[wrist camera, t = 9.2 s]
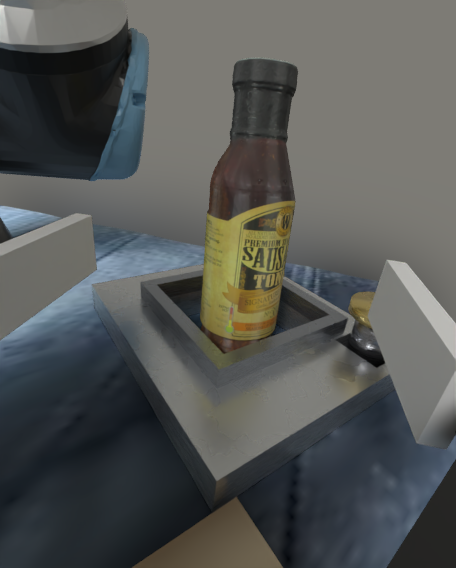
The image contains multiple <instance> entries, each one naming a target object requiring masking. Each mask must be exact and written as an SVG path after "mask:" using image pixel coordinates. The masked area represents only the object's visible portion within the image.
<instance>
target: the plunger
mask: <svg viewBox="0 0 456 568" xmlns="http://www.w3.org/2000/svg"><path fill="white" fill-rule="evenodd" d="M374 295H375V292H359V293H356V294H354V295H353V296H352V298H351V301H350V305H349V313H350V314H351V316H352V317H353V318H354V319H355V322H354V325H353V328H352V331H351V334H350V337H349V341H348V344H347V347H346V348H348V349H349V350H351V351H352V352H354V353H355V354H357V355H358V356H360V357H361V358H363V359H364V360H366V361H367V362H368V363H370V364H371V365H373V366H374V367H376V368H378V367H380V366H381V365H383V364H385V360H384V358H383V355H382V353H381V350H380V347H379V345H378V342H377V340H376V337H375V334H374V332H373V329H372V327H371V324H370V322H369V319H368V313H369V310H370V307H371V304H372V301H373V298H374Z"/></svg>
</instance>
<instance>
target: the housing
mask: <svg viewBox="0 0 456 568" xmlns="http://www.w3.org/2000/svg"><path fill="white" fill-rule="evenodd" d="M203 269H204V264H201V265H196V266H190V267H185V268H179V269H174V270H168V271H163V272H157V273H152V274H146V275H141V276H135V277H130V278H124V279H119V280H113V281H108V282H102V283H97V284H92V292H93V301H94V309H95V310H96V312H97V314H98V316H99V317H100V319H101V321H102V323H103V324H104V326H105V328H106V330H107V331H108V333H109V335H110V336H111V338H112V340H113V342H114V343H115V345H116V347H117V349H118V350H119V352H120V354H121V355H122V357H123V359H124V361H125V362H126V364H127V366H128V368H129V369H130V371H131V373H132V375H133V376H134V378H135V380H136V381H137V383H138V385H139V387H140V388H141V390H142V392H143V394H144V395H145V397H146V399H147V401H148V402H149V404H150V406H151V407H152V409H153V411H154V413H155V414H156V416H157V418H158V420H159V421H160V423H161V425H162V427H163V428H164V430H165V432H166V433H167V435H168V437H169V439H170V440H171V442H172V444H173V446H174V447H175V449H176V451H177V452H178V454H179V456H180V458H181V459H182V461H183V463H184V465H185V466H186V468H187V470H188V472H189V473H190V475H191V477H192V478H193V480H194V482H195V484H196V485H197V487H198V489H199V491H200V492H201V494H202V496H203V498H204V499H205V501H206V503H207V504H208V506H209V508H210V510H211V511H212V513H213V512H215V511H216V510H218V509H219V508H221V507H222V506H224V505H225V504H227V503H228V502H229V501H231V500H232V499H234V498H235V497H237V496H238V495H240V494H241V493H243V492H244V491H246V490H247V489H249V488H250V487H252V486H253V485H255V484H256V483H258V482H259V481H261V480H262V479H264V478H265V477H266V476H268V475H269V474H271V473H272V472H274V471H275V470H277V469H278V468H280V467H281V466H283V465H284V464H286V463H287V462H289V461H290V460H292V459H293V458H295V457H296V456H297V455H299V454H300V453H302V452H303V451H305V450H306V449H308V448H309V447H311V446H312V445H314V444H315V443H317V442H318V441H320V440H321V439H323V438H324V437H325V436H327V435H328V434H330V433H331V432H333V431H334V430H336V429H337V428H339V427H340V426H342V425H343V424H345V423H346V422H348V421H349V420H351V419H352V418H354V417H355V416H356V415H358V414H359V413H361V412H362V411H364V410H365V409H367V408H368V407H370V406H371V405H373V404H374V403H376V402H377V401H379V400H380V399H382V398H383V397H385V396H386V395H387V394H389V393H390V392H392V391H393V390H395V386H394V384H393V381H392V379H391V376H390V373H389V371H388V368H387V366H386V363H385V364H383V365H381V366H380V367H378V368H376V367H374V366H373V365H371V364H370V363H368V362H367V361H366V360H364V359H363V358H361V357H360V356H358V355H357V354H355V353H354V352H352V351H351V350H349V349H348V348H346V347H347V344H348V341H349V337H350V334H351V331H352V328H353V325H354V322H355V319H354V318H353V317H352V316H351V315H349V314H348V313H346V312H344V311H343V310H341V309H339V308H338V307H336V306H334V305H332V304H331V303H329V302H327V301H326V300H324V299H322V298H321V297H319V296H317V295H315V294H314V293H312V292H310V291H309V290H307V289H305V288H304V287H302V286H300V285H298V284H297V283H295V282H293V281H292V280H290V279H288V278H287V277H285V276H284V277H283V282H282V289H281V295H280V301H279V308H278V314H277V320H276V323H277V324H278V325H279V326H281V327H282V328H283V329H285V330H286V331H285V332H282V333H279V334H276V335H274V336H271V337H268V338H266V339H263V340H260V341H258V342H255V343H252V344H250V345H247V346H244V347H241V348H239V349H236V350H233V351H231V352H228V353H225V354H223V353H222V352H221V351H220V350H219V349H218V348H217V347H216V346H215V345H214V343H213V342H212V341H211V340H210V339H209V338H208V337H207V336H206V335H205V334H204V333H203V332H202V331H201V330H200V329H199V328H198V327H197V326H196V325H195V324H194V323H193V322H192V321H191V320H190V319H189V318H188V317H187V316H190V315H194V314H198V313H200V312H201V298H202V284H203Z"/></svg>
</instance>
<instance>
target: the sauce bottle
mask: <svg viewBox="0 0 456 568" xmlns="http://www.w3.org/2000/svg"><path fill="white" fill-rule="evenodd" d="M297 75H298V71H297V67H296V66H295V65H294V64H292V63H290V62H286V61H280V60H276V59H269V58H246V59H242V60H239V61H237V62H236V64H235V66H234V72H233V83H232V85H233V90H234V93H235V99H234V109H233V121H232V128H231V131H230V139H231V141H230V145H229V147H228V148H227V150H226V152H225V153H224V154H223V155H222V157H221V159H220V160H219V161H218V164H217V166H216V167H215V170H214V172H213V175H212V178H211V184H210V199H209V201H210V203H209V210H208V212H207V223H206V238H205V255H204V269H203V284H202V298H201V312H200V319H201V322H202V327H201V331H202V332H203V333H204V334H205V335H206V336H207V337H208V338H209V339H210V340H211V341H212V342H213V343H214V345H215V346H216V347H217V348H218V349H219V350H220V351H221V352H222V353H223V354H225V353H228V352H231V351H233V350H236V349H239V348H241V347H244V346H247V345H250V344H252V343H255V342H258V341H260V340H263V339H266V338H268V337H271V336H272V332H273V331H274V330H275V326H276V320H277V314H278V308H279V301H280V295H281V289H282V282H283V277H284V270H285V263H286V257H287V251H288V245H289V238H290V232H291V226H292V220H293V215H294V207H295V196H294V190H293V184H292V177H291V171H290V165H289V159H288V153H287V147H286V142H287V138H288V136H287V128H288V121H289V114H290V106H291V100H292V97H293V96H294V93H295V91H296V85H297Z"/></svg>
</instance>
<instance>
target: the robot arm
mask: <svg viewBox="0 0 456 568" xmlns="http://www.w3.org/2000/svg"><path fill="white" fill-rule="evenodd" d="M148 60H149V43H148V39H147V37H146V36H145V35H144V34H142V33H139V32H138V31H137V30H136V29H134V28H130V29H129V30H128V19H127V7H126V3H125V1H124V0H0V173H3V174H17V175H31V176H43V177H56V178H70V179H83V180H89V181H95V180H97V179H125V178H128V177H130V176H132V175H133V174H134V173H135V172H136V171H137V169H138V166H139V162H140V156H141V149H142V140H143V131H144V119H145V101H146V90H147V81H148V64H149V61H148ZM96 270H97V266H96V256H95V245H94V235H93V225H92V216H91V215H85V214H79V213H75V214H73V215H70V216H68V217H65V218H63V219H60V220H58V221H55V222H53V223H50V224H48V225H46V226H43V227H41V228H38V229H36V230H33V231H31V232H28V233H26V234H23V235H21V236H18V237H16V238H13V237H12V235H11V234H10V232H9V230H8V229H7V227H6V226H5V224H4V223H3V221H2V219H1V218H0V340H1V339H3V338H4V337H5V336H7V335H8V334H10V333H11V332H12V331H14V330H15V329H16V328H18V327H19V326H21V325H22V324H23V323H25V322H26V321H27V320H29V319H30V318H31V317H33V316H34V315H36V314H37V313H38V312H40V311H41V310H42V309H44V308H45V307H46V306H48V305H49V304H51V303H52V302H53V301H55V300H56V299H57V298H59V297H60V296H62V295H63V294H64V293H66V292H67V291H68V290H70V289H71V288H72V287H74V286H75V285H77V284H78V283H79V282H81V281H82V280H83V279H85V278H86V277H87V276H89V275H90V274H92V273H93V272H94V271H96ZM368 319H369V322H370V324H371V327H372V329H373V332H374V334H375V337H376V340H377V342H378V345H379V347H380V350H381V353H382V355H383V358H384V360H385V363H386V366H387V368H388V371H389V373H390V376H391V379H392V381H393V384H394V386H395V389H396V392H397V394H398V397H399V399H400V402H401V405H402V407H403V410H404V412H405V415H406V417H407V420H408V423H409V425H410V428H411V430H412V433H413V436H414V438H415V441H416V443H417V444H422V445H427V446H432V447H436V448H441V449H447V448H448V446H449V445H450V443H451V441H452V440H453V438H454V436H455V435H456V323H455V322H454V321H453V320H452V319H451V317H450V316H449V315H448V314H447V312H446V311H445V310H444V309H443V308H442V306H441V305H440V304H439V303H438V301H437V300H436V299H435V298H434V296H433V295H432V294H431V293H430V292H429V290H428V289H427V288H426V287H425V285H424V284H423V283H422V282H421V281H420V279H419V278H418V277H417V276H416V274H415V273H414V272H413V271H412V270H411V268H410V267H409V266H408V265H407V263H404V262H397V261H391V260H387V261H386V263H385V266H384V269H383V272H382V275H381V278H380V281H379V284H378V287H377V290H376V292H375V295H374V298H373V301H372V304H371V307H370V310H369V313H368ZM387 568H456V460H455V462H454V463H453V465H452V466H451V468H450V469H449V471H448V472H447V474H446V476H445V477H444V479H443V480H442V482H441V483H440V485H439V487H438V488H437V490H436V491H435V493H434V494H433V496H432V498H431V499H430V501H429V502H428V504H427V505H426V507H425V508H424V510H423V512H422V513H421V515H420V516H419V518H418V519H417V521H416V523H415V524H414V526H413V527H412V529H411V530H410V532H409V533H408V535H407V537H406V538H405V540H404V541H403V543H402V544H401V546H400V547H399V549H398V551H397V552H396V554H395V555H394V557H393V558H392V560H391V562H390V563H389V565H388V566H387Z"/></svg>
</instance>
